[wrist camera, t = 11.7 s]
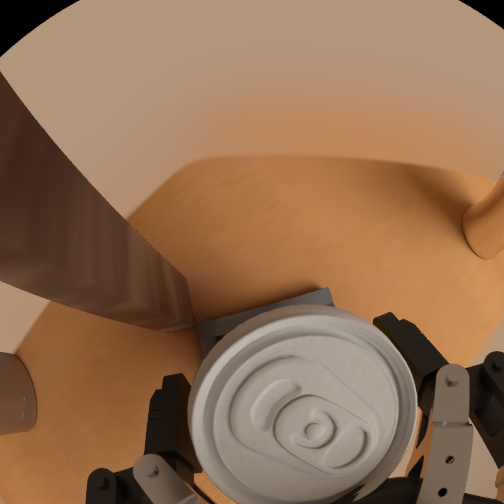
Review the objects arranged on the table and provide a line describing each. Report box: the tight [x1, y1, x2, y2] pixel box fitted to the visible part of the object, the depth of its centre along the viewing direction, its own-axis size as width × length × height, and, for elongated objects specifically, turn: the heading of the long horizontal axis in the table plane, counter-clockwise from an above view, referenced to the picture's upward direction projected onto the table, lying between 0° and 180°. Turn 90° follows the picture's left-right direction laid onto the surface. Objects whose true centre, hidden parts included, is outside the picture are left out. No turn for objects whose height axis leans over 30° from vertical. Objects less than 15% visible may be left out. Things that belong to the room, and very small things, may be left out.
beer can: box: [187, 304, 418, 504], centre depth 12 cm, size 6×6×15 cm
